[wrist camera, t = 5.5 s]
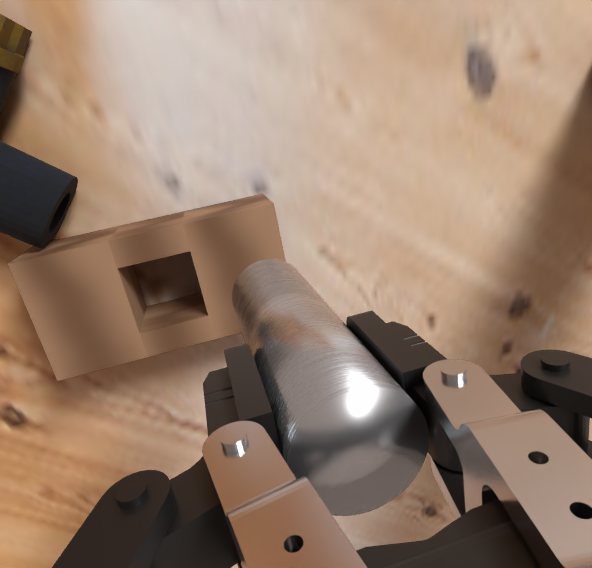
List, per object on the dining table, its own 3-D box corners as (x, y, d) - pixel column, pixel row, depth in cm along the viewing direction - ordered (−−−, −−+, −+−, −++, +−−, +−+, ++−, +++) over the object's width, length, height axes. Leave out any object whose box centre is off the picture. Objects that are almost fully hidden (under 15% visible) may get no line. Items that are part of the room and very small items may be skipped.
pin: (298, 251, 18) (422, 369, 9) (310, 319, 19) (433, 488, 10) (224, 268, 18) (274, 413, 8) (240, 338, 19) (301, 535, 9)
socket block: (262, 193, 34) (273, 203, 29) (283, 294, 36) (297, 317, 32) (35, 244, 31) (7, 264, 27) (75, 347, 34) (57, 381, 30)
